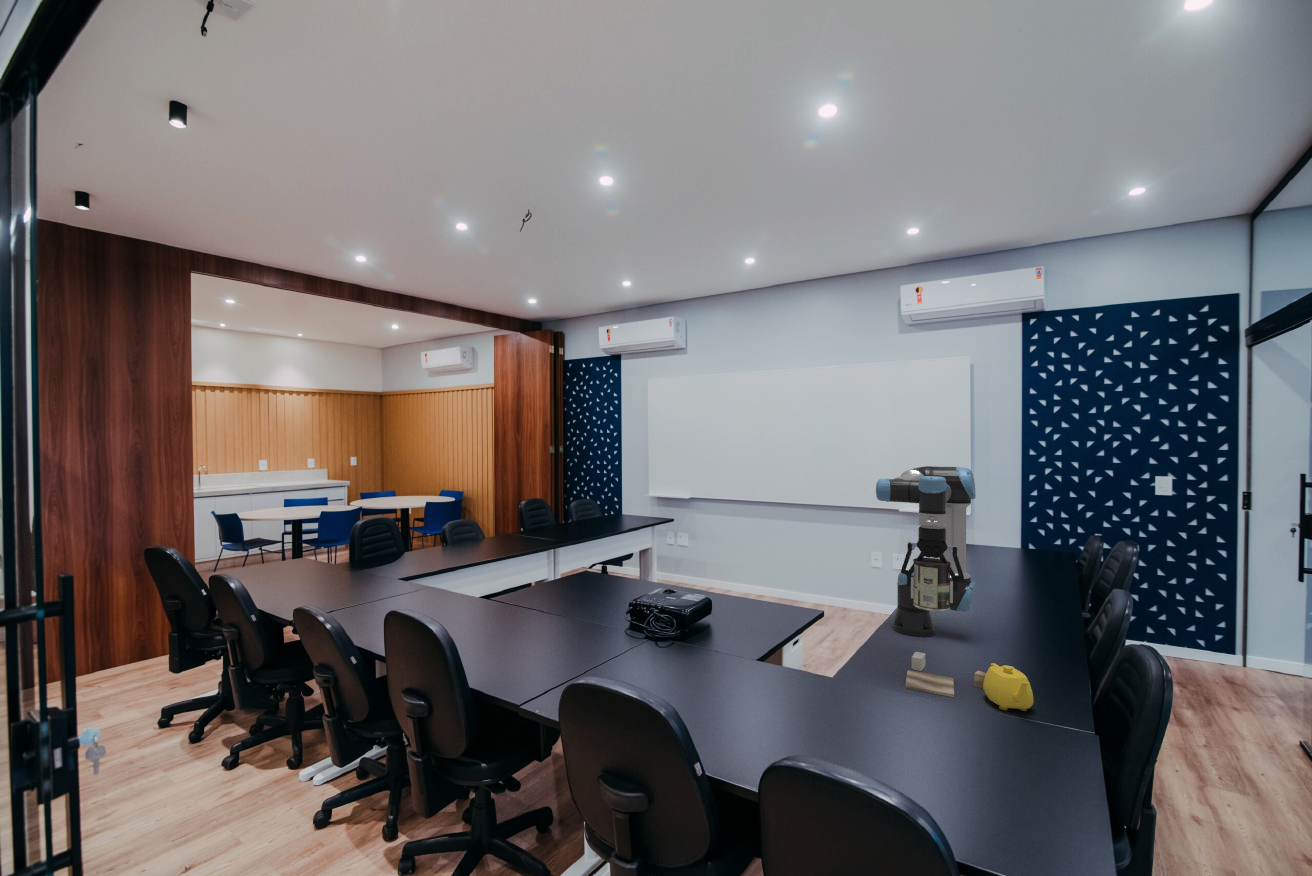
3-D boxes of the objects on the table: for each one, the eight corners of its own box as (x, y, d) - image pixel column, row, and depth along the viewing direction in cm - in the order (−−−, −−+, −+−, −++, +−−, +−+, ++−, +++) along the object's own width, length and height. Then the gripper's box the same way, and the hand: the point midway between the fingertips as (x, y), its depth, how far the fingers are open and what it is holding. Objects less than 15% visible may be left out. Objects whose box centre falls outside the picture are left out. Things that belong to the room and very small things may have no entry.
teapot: (1049, 722, 150) (1050, 681, 150) (1007, 720, 151) (1007, 680, 151) (1010, 691, 168) (1010, 655, 168) (972, 690, 169) (972, 654, 169)
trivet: (907, 672, 182) (907, 669, 182) (953, 680, 176) (953, 677, 176) (905, 688, 170) (905, 685, 170) (954, 697, 164) (954, 694, 164)
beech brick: (974, 686, 172) (974, 673, 172) (977, 683, 174) (977, 670, 174) (996, 692, 168) (996, 679, 168) (999, 689, 170) (999, 676, 170)
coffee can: (944, 603, 177) (944, 558, 177) (954, 613, 167) (955, 565, 167) (909, 601, 179) (909, 556, 179) (917, 610, 169) (918, 563, 169)
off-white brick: (915, 663, 189) (915, 651, 189) (925, 665, 188) (925, 653, 188) (911, 669, 185) (911, 657, 185) (921, 671, 183) (921, 659, 183)
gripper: (891, 525, 175) (890, 597, 175) (975, 531, 165) (974, 607, 165) (893, 522, 181) (892, 591, 181) (973, 528, 171) (973, 601, 171)
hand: (931, 599), depth 173 cm, fingers closed on coffee can, 10 cm apart
